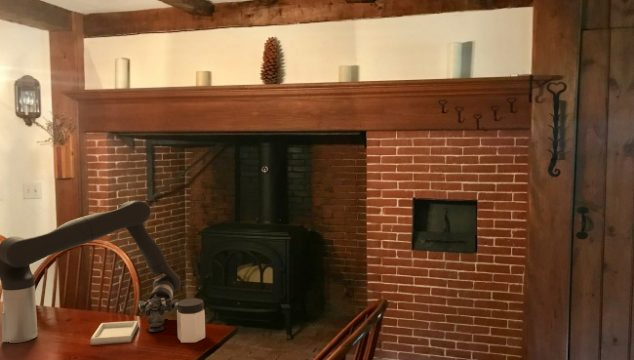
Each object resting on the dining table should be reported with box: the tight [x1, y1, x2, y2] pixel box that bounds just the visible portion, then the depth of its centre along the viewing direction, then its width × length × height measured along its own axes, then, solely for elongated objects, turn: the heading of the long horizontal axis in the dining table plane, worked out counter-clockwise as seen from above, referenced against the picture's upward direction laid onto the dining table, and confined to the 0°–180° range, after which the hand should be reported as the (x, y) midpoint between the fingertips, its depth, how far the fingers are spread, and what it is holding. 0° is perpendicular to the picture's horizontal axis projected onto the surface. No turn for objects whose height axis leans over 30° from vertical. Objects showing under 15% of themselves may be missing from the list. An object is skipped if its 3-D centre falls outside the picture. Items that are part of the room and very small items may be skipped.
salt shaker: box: [146, 294, 166, 333], centre depth 177 cm, size 6×6×12 cm
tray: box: [90, 320, 139, 346], centre depth 173 cm, size 12×14×2 cm
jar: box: [176, 298, 206, 343], centre depth 170 cm, size 9×8×12 cm
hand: (154, 312), depth 174 cm, fingers closed on salt shaker, 3 cm apart
